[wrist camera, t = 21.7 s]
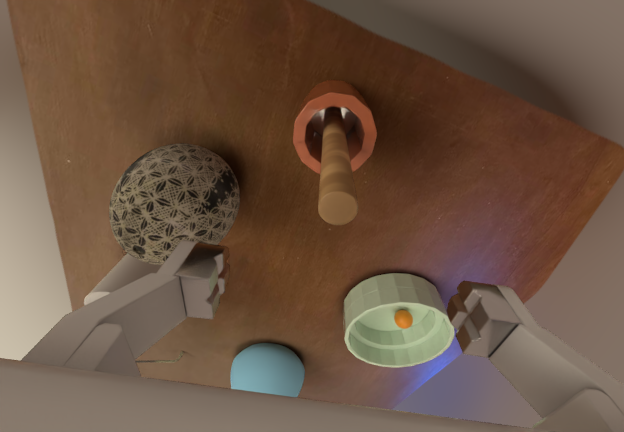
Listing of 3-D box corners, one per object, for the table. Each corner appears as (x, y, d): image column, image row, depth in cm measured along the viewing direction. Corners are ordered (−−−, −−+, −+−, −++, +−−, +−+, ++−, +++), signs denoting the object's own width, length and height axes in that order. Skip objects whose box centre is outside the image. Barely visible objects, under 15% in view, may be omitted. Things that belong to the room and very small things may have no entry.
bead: (418, 323, 46) (411, 331, 44) (402, 324, 48) (394, 332, 46) (412, 306, 46) (404, 313, 44) (396, 307, 48) (388, 314, 46)
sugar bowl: (319, 363, 59) (318, 428, 49) (271, 384, 64) (261, 446, 55) (268, 329, 53) (255, 394, 43) (221, 355, 59) (200, 418, 49)
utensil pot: (377, 108, 30) (393, 131, 23) (336, 156, 34) (338, 189, 26) (328, 64, 28) (328, 73, 21) (290, 119, 32) (277, 144, 24)
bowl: (459, 301, 46) (477, 336, 41) (388, 343, 53) (395, 377, 48) (392, 253, 41) (401, 285, 36) (324, 306, 49) (323, 340, 43)
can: (187, 257, 44) (144, 322, 34) (168, 281, 47) (124, 347, 37) (142, 232, 42) (82, 293, 32) (125, 259, 45) (66, 323, 35)
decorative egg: (268, 194, 37) (236, 273, 24) (200, 223, 40) (141, 307, 28) (215, 112, 32) (140, 159, 19) (142, 154, 35) (36, 218, 22)
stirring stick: (345, 114, 30) (366, 206, 14) (334, 129, 31) (340, 231, 14) (332, 102, 30) (336, 183, 13) (320, 117, 31) (310, 211, 14)
